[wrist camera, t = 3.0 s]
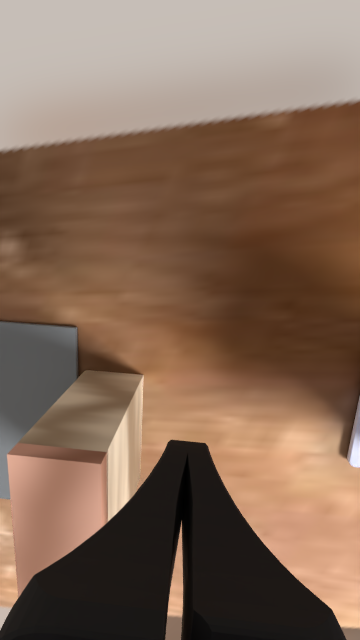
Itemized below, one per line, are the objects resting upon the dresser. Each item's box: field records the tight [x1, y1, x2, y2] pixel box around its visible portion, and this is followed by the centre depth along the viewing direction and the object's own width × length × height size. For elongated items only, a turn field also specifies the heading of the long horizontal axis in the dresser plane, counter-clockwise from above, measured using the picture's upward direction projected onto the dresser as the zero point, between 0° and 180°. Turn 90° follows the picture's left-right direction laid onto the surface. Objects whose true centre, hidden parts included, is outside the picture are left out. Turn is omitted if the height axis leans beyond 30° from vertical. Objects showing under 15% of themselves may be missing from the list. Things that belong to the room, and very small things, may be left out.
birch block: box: [7, 370, 143, 598], centre depth 19 cm, size 4×8×9 cm, turn 177°
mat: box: [0, 321, 78, 499], centre depth 24 cm, size 10×14×1 cm
